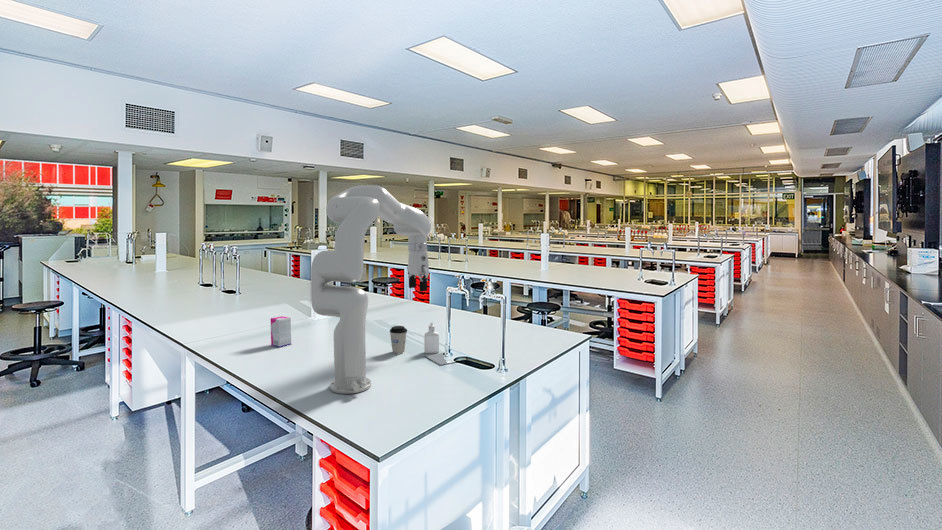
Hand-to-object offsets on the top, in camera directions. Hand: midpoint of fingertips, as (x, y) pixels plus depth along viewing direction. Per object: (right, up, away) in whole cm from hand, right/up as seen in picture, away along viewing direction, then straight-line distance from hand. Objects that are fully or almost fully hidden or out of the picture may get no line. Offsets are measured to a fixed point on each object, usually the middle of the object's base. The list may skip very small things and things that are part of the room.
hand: (417, 289), depth 187 cm
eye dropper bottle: (+6, -25, -7) cm, 26 cm away
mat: (+12, -25, -15) cm, 32 cm away
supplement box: (-56, -23, +1) cm, 61 cm away
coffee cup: (-7, -25, -7) cm, 26 cm away
